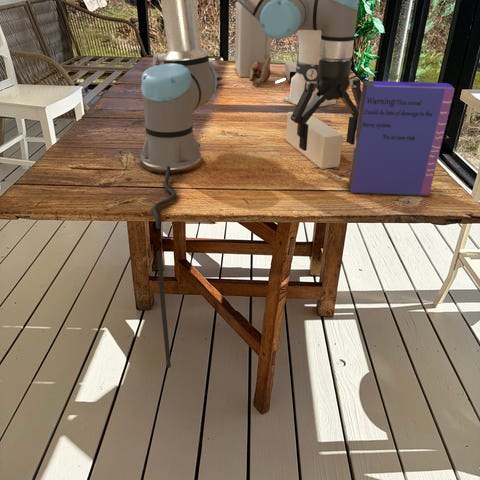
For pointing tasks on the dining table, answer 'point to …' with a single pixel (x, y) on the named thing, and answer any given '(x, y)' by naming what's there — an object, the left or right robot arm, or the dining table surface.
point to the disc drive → (290, 70)
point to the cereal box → (399, 137)
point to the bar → (317, 142)
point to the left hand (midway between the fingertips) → (326, 146)
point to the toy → (159, 57)
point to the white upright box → (249, 41)
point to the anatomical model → (260, 71)
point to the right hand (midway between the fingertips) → (312, 25)
